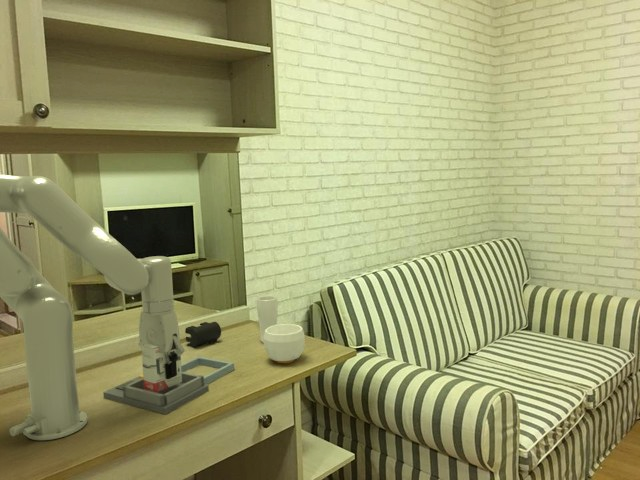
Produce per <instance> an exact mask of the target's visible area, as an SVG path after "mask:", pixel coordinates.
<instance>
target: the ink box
mask: <svg viewBox="0 0 640 480" xmlns="http://www.w3.org/2000/svg"><path fill="white" fill-rule="evenodd" d="M169 354H170V357H171V356H172V353H171V352H170V353H169ZM141 358H142V359H141V361H142V375H143V381H144V389H146V390H149V391H151V392H155V393H156V392H159V391H161V390H164V389H166V388H169V387H171V386H174V385H176V384H179V383H181V382H182V373H181V364H182V356H180V357H179V358H178V360H177V361H176V366H177V375H176V376H175V377H172V378H170V379H166V370H165V364H166V363H167V361H166V358H165V354H162V353H159V349H158V346H156V345H153V344H148V343H143V345H142V348H141Z"/></svg>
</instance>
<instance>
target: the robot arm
mask: <svg viewBox="0 0 640 480" xmlns="http://www.w3.org/2000/svg"><path fill="white" fill-rule="evenodd" d="M0 213H6V214H7V213H8V214H9V213H10V214H27V215H29V217H31V218H32V219H33V220H34V221H36V222H37V223H38V224H39V225H40V226H41V227H42V228H43V229H45V230H46V232H48V233H49V234H50V235H51V236H52V237H53V238H54V239H56V241H58V242H59V243H60V244H61V245H62V246H63V247H65V249H67V250H69V251H70V252H71V253H72V254H73V255H76V256H78V257H79V258H81V259H83V260H84V261H86V262H88V263H89V265H91V266H93V268H95V269H96V270H98V272H100V273H101V274H102V275H103V276H104V280H105V282H106V283H107V285H109V286H110V287H111V288H113V289H115V290H117V291H119V292H121V293H123V294H126V295H130V296H131V295H137V294H139V293H141V305H142V310H141V311H140V315H139V324H138V325H139V326H138V333H139V335H138V336H139V337H138V339H139V340H138V341H139V342H138V347H140V348H141V349H142V345H143V343H148V344H153V345H156V346H158V349H159V353H162V354H165V358H166V361H167V363H166V364H165V370H166V379H170V378H172V377H175V376H176V375H177V366H176V361H177V360H178V358H179V357H180V356H181V355H183V353H184V352H185V351H186V350H185V348H184V346H183V345H182V343H181V335H180V334H181V333H180V327H179V326H180V325H179V321H178V316H177V313H176V311H175V303H174V300H175V299H174V290H173V289H174V287H173V272H172V270H173V269H172V261H171V258H169V257H167V256H164V255H156V256H148V257H143V258H137V257H135V255H133V254H132V252H131V251H129V250H128V249H127V248H126V247H125V246H124V245H122V243H120V242H119V241H118V240H117V239H116V238H114V236H112V235H111V234H110V233H108V231H107V230H106V229H105V228H103V226H101V225H100V224H99V223H98V222H97V221H96V220H95V219H93V218H92V217H91V216H90V215H89V214H88V213H87V212H86V211H85V210H83V208H82V207H80V206H79V204H78V203H77V202H75V201H74V200H73V199H72V198H71V197H70V196H69V195H68V193H66V192H65V191H64V190H63V189H62V188H61V187H60V186H59V185H58V184H57V183H55V182H54V181H52V180H51V179H50V178H48V177H46V176H42V175H31V176H26V175H25V176H24V175H23V176H22V175H9V174H0ZM0 299H1V300H2V301H3V302H4V303H5V304H6V305H7V306H8V307H9V308H10V309H11V310H12V312H14V313H15V314H16V315H17V316H18V318H19V319H20V320H21V322H22V327H23V337H24V338H23V339H24V340H23V341H24V343H23V344H24V353H25V366H26V372H27V382H28V383H27V384H28V391H29V400H30V402H29V403H30V411H31V412H30V413H28V414H26V419H25V420H23V421H22V423H19V424H16V425H14V426H12V427H10V428H9V434H10V436H11V437H16V436H17V435H20V434H22V433H23V435H24V436H26V437H27V438H28V439H29V440H30V439H31V440H33V441H50V440H56V439H60V438H64V437H67V436H70V435H72V434H74V433H76V432H78V431H79V430H82V428H84V427H85V426H86V425H87V423H88V421H89V419H88V414H87V413H86V412H84V411H83V410H82V411H81V410H80V405H79V403H80V402H79V394H78V393H79V392H78V382H77V381H78V380H77V372H76V370H77V369H76V360H75V351H74V336H73V333H74V331H73V330H74V328H73V327H74V315H73V310H72V306H71V304H70V302H69V300H68V299H67V298H66V296H65V295H63V294H62V293H60V292H59V291H58V290H56V289H55V288H54V287H53V286H52V285H51V284H50V282H49V281H48V280H47V279H46V278H45V277H44V276H43V275H42V274H41V272H40V271H39V269H37V268H36V266H35V264H34V262H33V261H32V260H31V259H30V258H29V256H27V254H25V253H23V252H22V251H21V250H20V249H19V247H17V246H16V245H15V243H14V242H13V241H12V240H11V239H10V238H9V237H8V235H7V233H6V232H4V230H3V229H2V228H1V227H0ZM170 352H171V353H172V356H171V357H170V354H169V353H170ZM181 357H182V356H181Z"/></svg>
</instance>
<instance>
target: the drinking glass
mask: <svg viewBox="0 0 640 480" xmlns="http://www.w3.org/2000/svg"><path fill="white" fill-rule="evenodd" d="M256 310H257V311H256V312H257V318H258V325H259V332H260V333H259V335H260V342H261V343H263V344H264V333H265V330H266V329H267V328H268V327H270V326H274V325H278V299H277V296H275V295H262V296H259V297H257V298H256Z"/></svg>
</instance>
